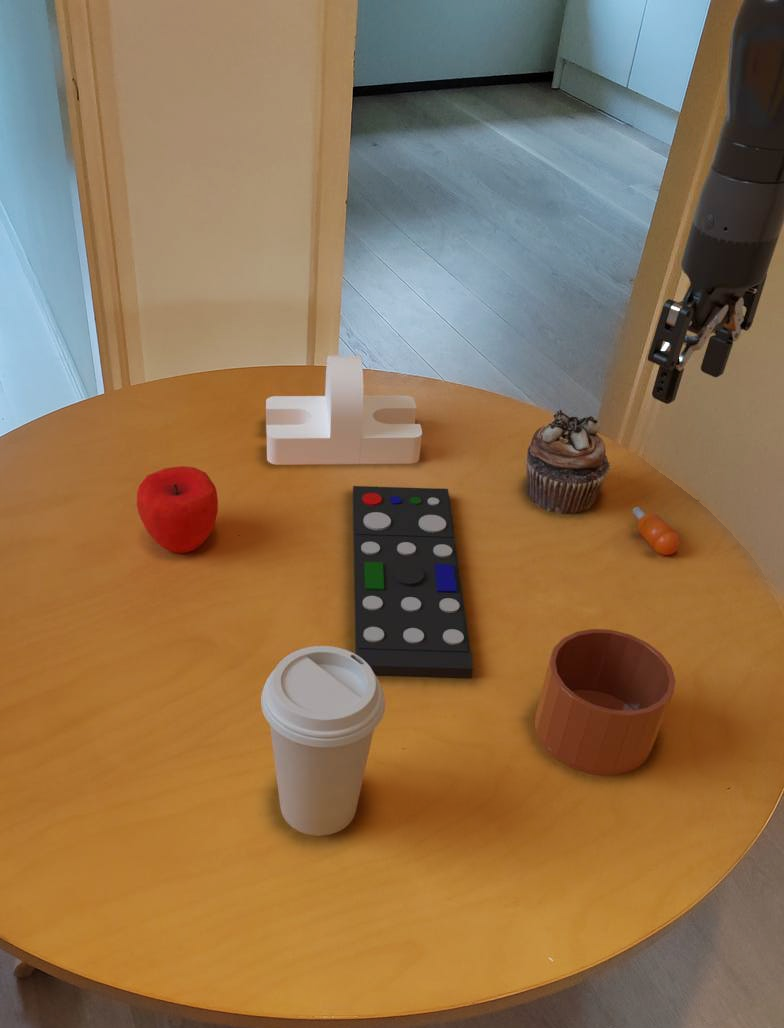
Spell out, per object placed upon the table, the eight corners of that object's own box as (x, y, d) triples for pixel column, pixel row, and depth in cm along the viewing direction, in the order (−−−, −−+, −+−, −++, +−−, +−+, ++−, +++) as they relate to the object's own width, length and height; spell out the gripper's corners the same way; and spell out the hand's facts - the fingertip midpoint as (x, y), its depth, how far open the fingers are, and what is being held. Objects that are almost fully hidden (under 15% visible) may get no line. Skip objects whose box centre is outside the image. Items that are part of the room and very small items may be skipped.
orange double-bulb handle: (679, 558, 114) (688, 538, 112) (658, 561, 113) (666, 540, 111) (641, 517, 119) (649, 497, 117) (620, 520, 118) (628, 499, 116)
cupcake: (516, 512, 119) (531, 437, 112) (523, 467, 126) (537, 395, 119) (599, 524, 118) (619, 450, 111) (602, 479, 125) (620, 406, 118)
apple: (158, 511, 118) (153, 453, 113) (230, 524, 116) (228, 466, 111) (128, 557, 112) (121, 497, 106) (204, 572, 110) (200, 512, 105)
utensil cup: (671, 726, 95) (695, 665, 89) (619, 795, 89) (641, 734, 83) (569, 674, 99) (586, 613, 94) (513, 736, 93) (528, 674, 88)
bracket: (410, 421, 134) (419, 340, 126) (420, 464, 126) (429, 380, 119) (265, 422, 133) (265, 340, 125) (267, 465, 126) (266, 381, 118)
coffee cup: (392, 833, 85) (408, 709, 75) (284, 865, 83) (285, 741, 72) (348, 751, 92) (357, 627, 82) (247, 779, 89) (244, 654, 79)
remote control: (446, 499, 121) (448, 485, 120) (470, 679, 99) (473, 664, 97) (352, 496, 121) (353, 482, 120) (355, 675, 99) (356, 661, 97)
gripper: (730, 255, 85) (678, 425, 96) (816, 216, 92) (758, 379, 103) (655, 228, 90) (613, 394, 101) (743, 193, 97) (695, 351, 108)
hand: (687, 386), depth 102 cm, fingers open, 8 cm apart
